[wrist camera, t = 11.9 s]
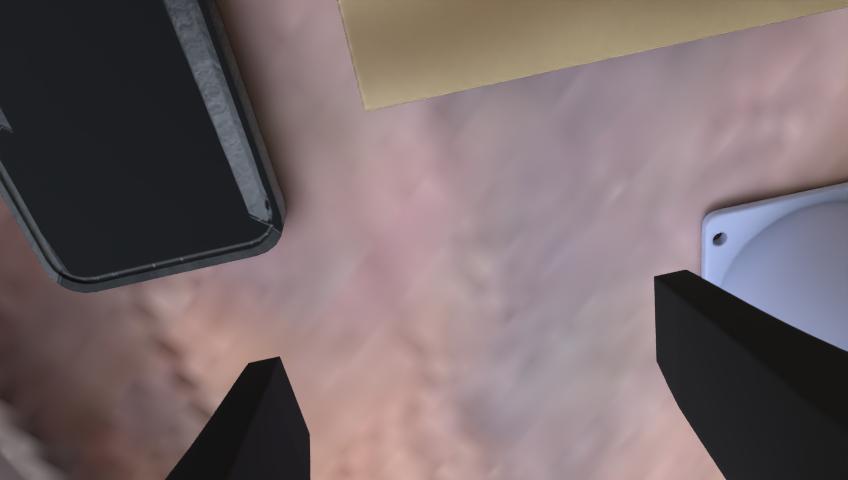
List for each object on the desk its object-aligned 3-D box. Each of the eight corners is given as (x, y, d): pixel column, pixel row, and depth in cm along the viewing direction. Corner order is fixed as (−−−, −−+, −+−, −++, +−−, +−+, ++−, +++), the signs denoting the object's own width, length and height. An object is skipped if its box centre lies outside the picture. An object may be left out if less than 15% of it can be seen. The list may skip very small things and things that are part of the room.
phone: (84, -343, 14) (292, 248, 21) (102, -327, 15) (295, 232, 22) (-264, -256, 14) (58, 300, 22) (-223, -247, 15) (70, 282, 23)
